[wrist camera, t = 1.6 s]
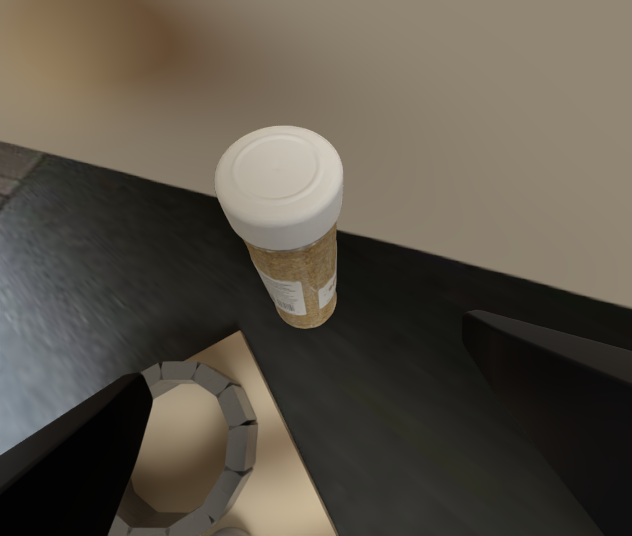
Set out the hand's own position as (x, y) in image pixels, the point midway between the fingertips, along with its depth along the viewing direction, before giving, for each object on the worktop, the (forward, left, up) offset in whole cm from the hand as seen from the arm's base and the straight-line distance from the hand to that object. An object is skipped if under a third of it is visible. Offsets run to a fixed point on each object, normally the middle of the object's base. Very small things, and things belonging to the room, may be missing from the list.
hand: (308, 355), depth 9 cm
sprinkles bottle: (+6, -2, -13) cm, 14 cm away
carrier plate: (-1, +8, -13) cm, 15 cm away
